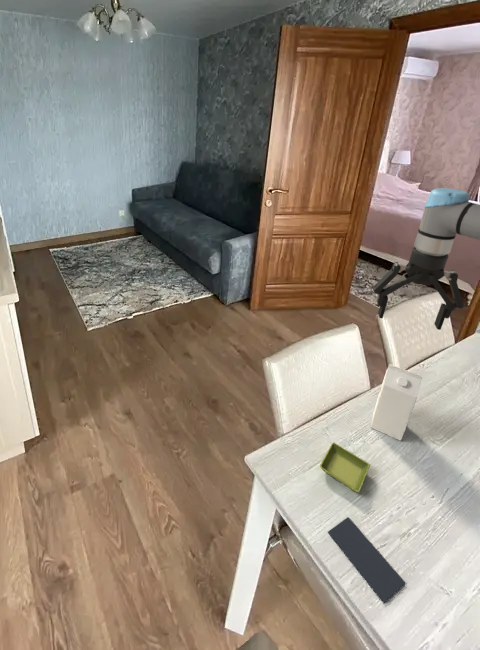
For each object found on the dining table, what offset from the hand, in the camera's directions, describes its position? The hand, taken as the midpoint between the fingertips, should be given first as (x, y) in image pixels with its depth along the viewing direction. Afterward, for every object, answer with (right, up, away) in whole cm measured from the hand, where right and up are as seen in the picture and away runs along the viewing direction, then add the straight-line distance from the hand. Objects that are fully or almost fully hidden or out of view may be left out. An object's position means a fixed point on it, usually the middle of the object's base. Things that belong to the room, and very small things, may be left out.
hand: (408, 321), depth 95 cm
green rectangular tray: (-24, -33, -13) cm, 43 cm away
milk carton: (-7, -28, -1) cm, 29 cm away
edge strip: (-28, -39, -29) cm, 56 cm away
